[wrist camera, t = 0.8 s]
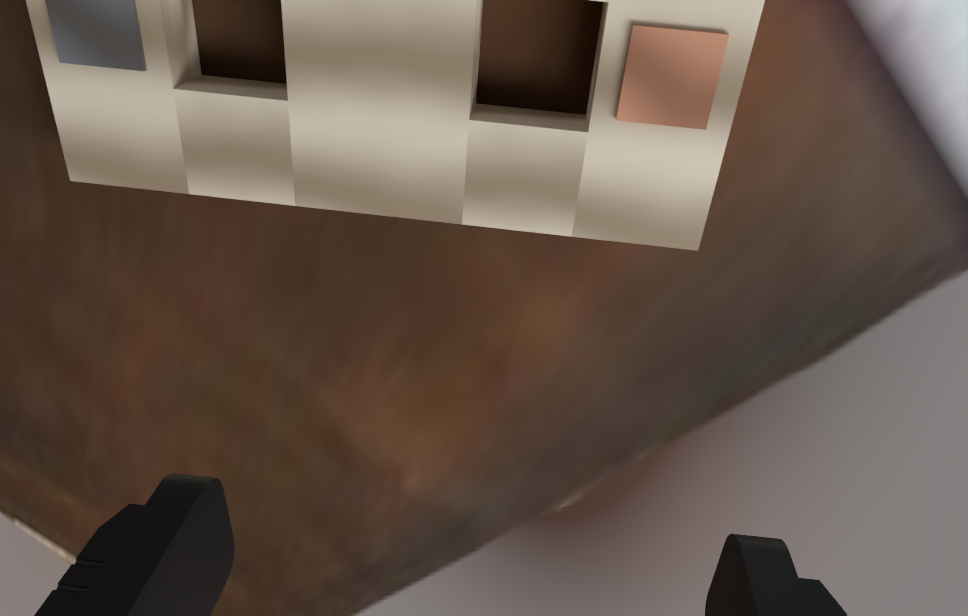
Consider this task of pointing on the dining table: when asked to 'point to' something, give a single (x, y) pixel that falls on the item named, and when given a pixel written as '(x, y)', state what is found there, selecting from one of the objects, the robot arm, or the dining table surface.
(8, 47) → the dining table surface
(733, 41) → the socket block
